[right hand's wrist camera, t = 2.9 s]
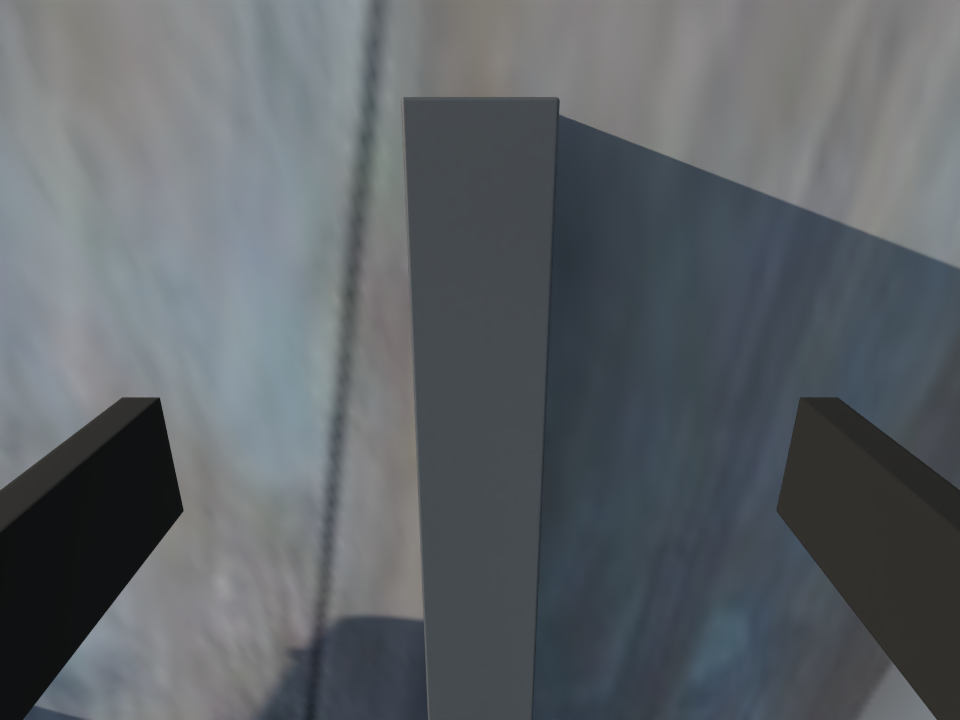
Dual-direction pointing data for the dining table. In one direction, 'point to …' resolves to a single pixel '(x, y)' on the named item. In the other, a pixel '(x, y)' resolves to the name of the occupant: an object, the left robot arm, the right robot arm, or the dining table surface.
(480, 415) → the plank
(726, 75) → the dining table surface
